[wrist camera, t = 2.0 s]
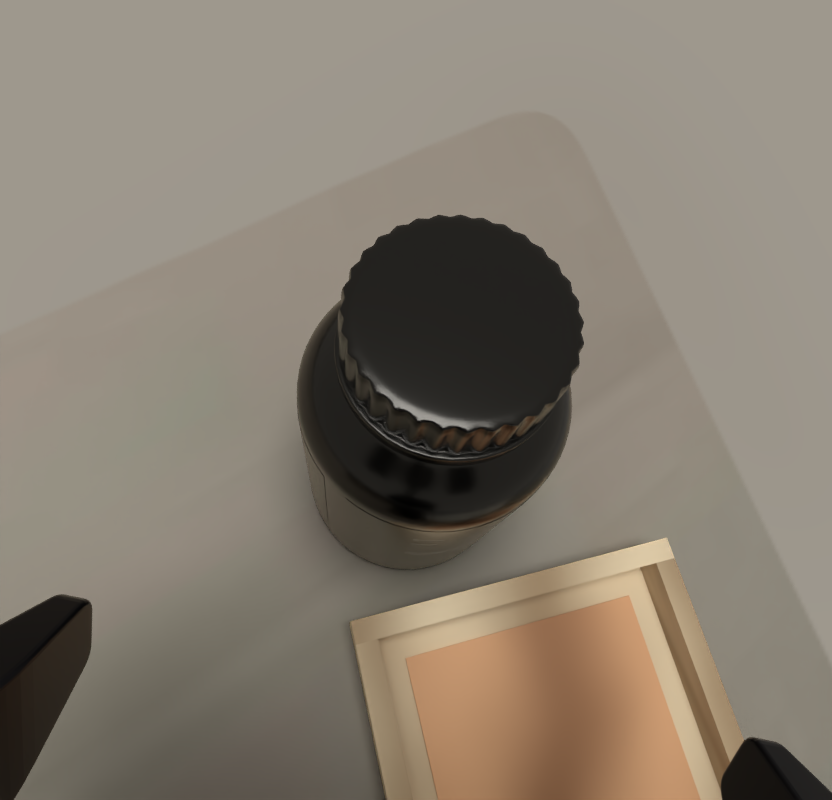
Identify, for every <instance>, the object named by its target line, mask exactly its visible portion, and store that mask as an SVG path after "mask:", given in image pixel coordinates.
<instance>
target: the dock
mask: <svg viewBox="0 0 832 800" xmlns="http://www.w3.org/2000/svg"><path fill="white" fill-rule="evenodd" d="M349 624H350V629H351V634H352V639H353V644H354V649H355V654H356V658H357V663H358V668H359V673H360V678H361V683H362V688H363V692H364V697H365V702H366V707H367V712H368V717H369V721H370V726H371V731H372V736H373V741H374V746H375V751H376V755H377V760H378V765H379V770H380V775H381V780H382V785H383V789H384V794H385V799H386V800H722V796H721V779H722V775H723V773H724V771H725V770H726V768H727V767H728V765H729V763H730V762H731V760H732V758H733V757H734V755H735V754H736V752H737V750H738V749H739V747H740V746H741V744H742V743H743V741H744V739H743V737H742V734H741V731H740V729H739V726H738V723H737V721H736V718H735V716H734V713H733V710H732V708H731V705H730V702H729V700H728V697H727V695H726V692H725V689H724V687H723V684H722V681H721V679H720V676H719V674H718V671H717V668H716V666H715V663H714V660H713V658H712V655H711V653H710V650H709V647H708V645H707V642H706V639H705V637H704V634H703V632H702V629H701V626H700V624H699V621H698V618H697V616H696V613H695V611H694V608H693V605H692V603H691V600H690V597H689V595H688V592H687V590H686V587H685V584H684V582H683V579H682V576H681V574H680V571H679V569H678V566H677V563H676V561H675V558H674V555H673V553H672V550H671V548H670V545H669V542H668V540H667V538H663V539H660V540H656V541H652V542H648V543H644V544H641V545H637V546H633V547H629V548H626V549H622V550H618V551H614V552H610V553H607V554H603V555H599V556H595V557H592V558H588V559H584V560H580V561H576V562H573V563H569V564H565V565H561V566H558V567H554V568H550V569H546V570H542V571H539V572H535V573H531V574H527V575H524V576H520V577H516V578H512V579H508V580H505V581H501V582H497V583H493V584H490V585H486V586H482V587H478V588H474V589H471V590H467V591H463V592H459V593H455V594H452V595H448V596H444V597H440V598H437V599H433V600H429V601H425V602H421V603H418V604H414V605H410V606H406V607H403V608H399V609H395V610H391V611H387V612H384V613H380V614H376V615H372V616H369V617H365V618H361V619H357V620H353V621H350V622H349Z"/></svg>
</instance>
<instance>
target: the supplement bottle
mask: <svg viewBox="0 0 832 800" xmlns="http://www.w3.org/2000/svg"><path fill="white" fill-rule="evenodd" d="M583 324H584V322H583V319H582V317H581V315H580V314H579V301H578V299H577V298H576V296H575V295H574V294H573V293H572V287H571V282H570V281H569V280H568V279H567V278H566V277H565V276H564V275H562V273H561V271H560V267H559V265H558V264H557V263H556V262H555V261H553V260H552V259H550V258H548V256H547V255H546V252H545V251H544V249H543V248H541V247H539V246H537V245H535V244H533V243H531V242H530V240H529V239H528V238H527V237H526V236H525V235H524V234H521V233H517V232H513V231H512V230H511V229H510V228H509V227H507V226H506V225H503V224H493V223H491V222H490V221H488V220H486V219H484V218H476V219H471V218H469V217H466V216H463V215H457V216H453V217H448V216H443V215H437V216H434V217H432V218H430V219H416V220H414V221H413V222H412V223H410V224H409V225H400V226H396V227H395V228H394V229H393V230H392V231H391V233H390V234H386V235H383V236H380V237H378V239H377V240H376V242H375V244H374V246H372V247H370V248H368V249H366V250H365V251H363V253H362V255H361V258H360V261H359V262H358V263H357V264H355V265H354V266H353V267H352V268H351V270H350V273H349V281H348V282H347V283H346V284H345V286H344V287H343V289H342V292H341V300H340V301H339V302H338V303H337V304H336V305H335V306H334V307H333V308H332V309H331V310H330V311H329V312H328V313H327V314H326V315H325V317H324V318H323V319H322V320H321V322H320V323H319V324H318V326H317V328H316V329H315V331H314V332H313V334H312V336H311V338H310V340H309V342H308V344H307V346H306V349H305V352H304V354H303V357H302V360H301V365H300V369H299V374H298V382H297V408H298V418H299V424H300V429H301V435H302V440H303V446H304V451H305V456H306V462H307V467H308V473H309V478H310V483H311V488H312V493H313V496H314V500H315V503H316V506H317V508H318V511H319V513H320V515H321V517H322V519H323V521H324V522H325V524H326V525H327V527H328V528H329V530H330V531H331V532H332V534H333V535H334V536H335V537H336V538H337V539H338V540H339V541H340V542H341V543H342V544H343V545H344V546H345V547H346V548H348V549H349V550H350V551H351V552H353V553H355V554H356V555H358V556H359V557H361V558H363V559H365V560H367V561H369V562H372V563H375V564H377V565H381V566H385V567H389V568H395V569H419V568H426V567H430V566H434V565H437V564H440V563H443V562H445V561H447V560H449V559H452V558H454V557H455V556H457V555H458V554H460V553H462V552H463V551H465V550H466V549H467V548H469V547H470V546H471V545H473V544H474V543H475V542H477V541H478V540H479V539H480V538H482V537H483V536H484V535H485V534H486V533H488V532H489V531H490V530H491V529H493V528H494V527H495V526H496V525H498V524H499V523H500V522H501V521H503V520H504V519H505V518H506V517H508V516H509V515H510V514H511V513H513V512H514V511H515V510H516V509H517V508H519V507H520V506H521V505H522V504H524V503H525V502H526V501H527V500H528V499H529V498H530V497H531V496H532V495H533V494H534V493H535V492H536V491H537V490H538V489H539V488H540V486H541V485H542V484H543V483H544V482H545V481H546V479H547V478H548V477H549V475H550V474H551V472H552V471H553V469H554V468H555V466H556V464H557V462H558V460H559V459H560V457H561V454H562V452H563V449H564V447H565V444H566V440H567V437H568V433H569V429H570V422H571V413H572V398H571V388H570V382H571V376H572V375H573V374H574V373H575V372H576V370H577V369H578V367H579V353H580V351H581V349H582V348H583V345H584V341H583V337H582V334H581V330H582V328H583Z"/></svg>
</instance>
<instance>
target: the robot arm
mask: <svg viewBox="0 0 832 800" xmlns="http://www.w3.org/2000/svg"><path fill="white" fill-rule="evenodd" d="M91 638H92V605H91V603H90V601H88V600H87V599H83V598H78V597H73V596H69V595H64V594H61V595H56V596H53V597H51V598H49V599H47V600H45V601H44V602H42V603H40V604H38V605H36V606H34V607H32V608H31V609H29V610H27V611H25V612H23V613H21V614H19V615H18V616H16V617H14V618H12V619H10V620H8V621H6V622H5V623H3V624H1V625H0V800H14V798H15V797H16V795H17V793H18V792H19V790H20V789H21V787H22V785H23V784H24V782H25V780H26V778H27V776H28V775H29V773H30V771H31V769H32V767H33V765H34V764H35V762H36V760H37V758H38V756H39V754H40V752H41V750H42V748H43V746H44V744H45V742H46V740H47V739H48V737H49V735H50V733H51V731H52V729H53V727H54V725H55V723H56V721H57V719H58V717H59V715H60V713H61V711H62V710H63V708H64V706H65V704H66V702H67V700H68V698H69V696H70V694H71V692H72V690H73V688H74V686H75V684H76V683H77V681H78V679H79V677H80V675H81V673H82V671H83V669H84V667H85V665H86V663H87V660H88V658H89V654H90V650H91ZM721 796H722V800H832V792H830V791H829V790H828V789H827V788H826V787H825V786H824V785H823V784H822V783H821V782H820V781H819V780H818V779H817V778H816V777H815V776H814V775H813V774H812V773H811V772H810V771H809V770H808V769H807V768H806V767H805V766H804V765H802V764H801V763H800V762H799V761H798V760H797V759H796V758H795V757H794V756H793V755H792V754H791V753H790V752H789V751H788V750H787V749H786V748H785V747H784V746H782V745H781V744H779V743H777V742H774V741H769V740H764V739H759V738H754V737H749V738H748V739H746V740H744V741H743V743H742V744H741V746H740V747H739V749H738V750H737V752H736V754H735V755H734V757H733V758H732V760H731V762H730V763H729V765H728V767H727V768H726V770H725V771H724V773H723V775H722V779H721Z"/></svg>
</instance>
